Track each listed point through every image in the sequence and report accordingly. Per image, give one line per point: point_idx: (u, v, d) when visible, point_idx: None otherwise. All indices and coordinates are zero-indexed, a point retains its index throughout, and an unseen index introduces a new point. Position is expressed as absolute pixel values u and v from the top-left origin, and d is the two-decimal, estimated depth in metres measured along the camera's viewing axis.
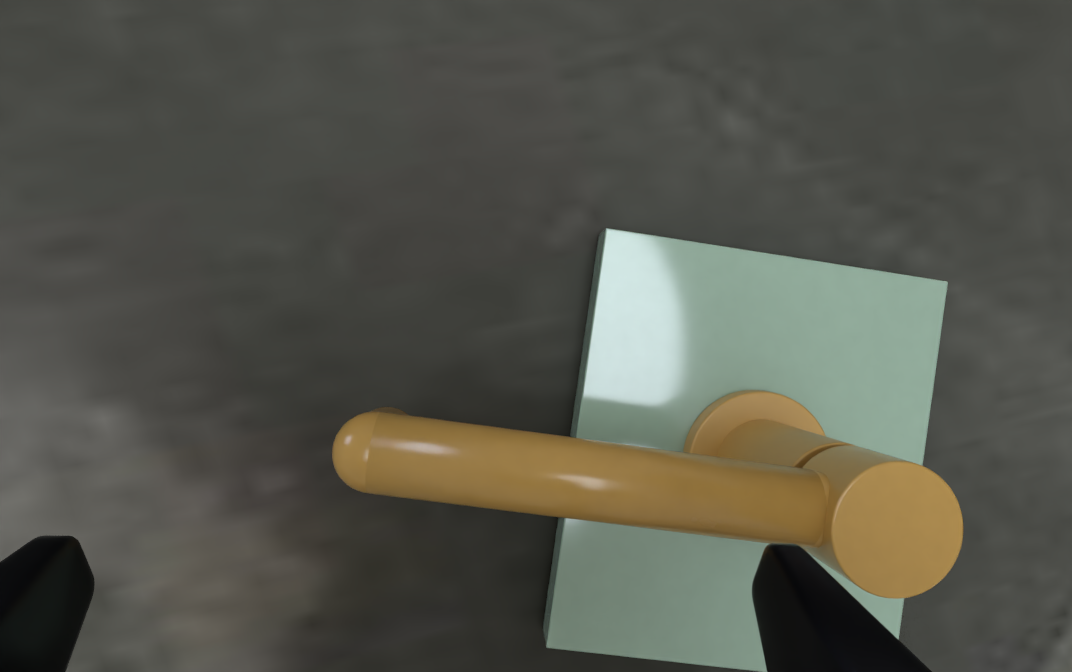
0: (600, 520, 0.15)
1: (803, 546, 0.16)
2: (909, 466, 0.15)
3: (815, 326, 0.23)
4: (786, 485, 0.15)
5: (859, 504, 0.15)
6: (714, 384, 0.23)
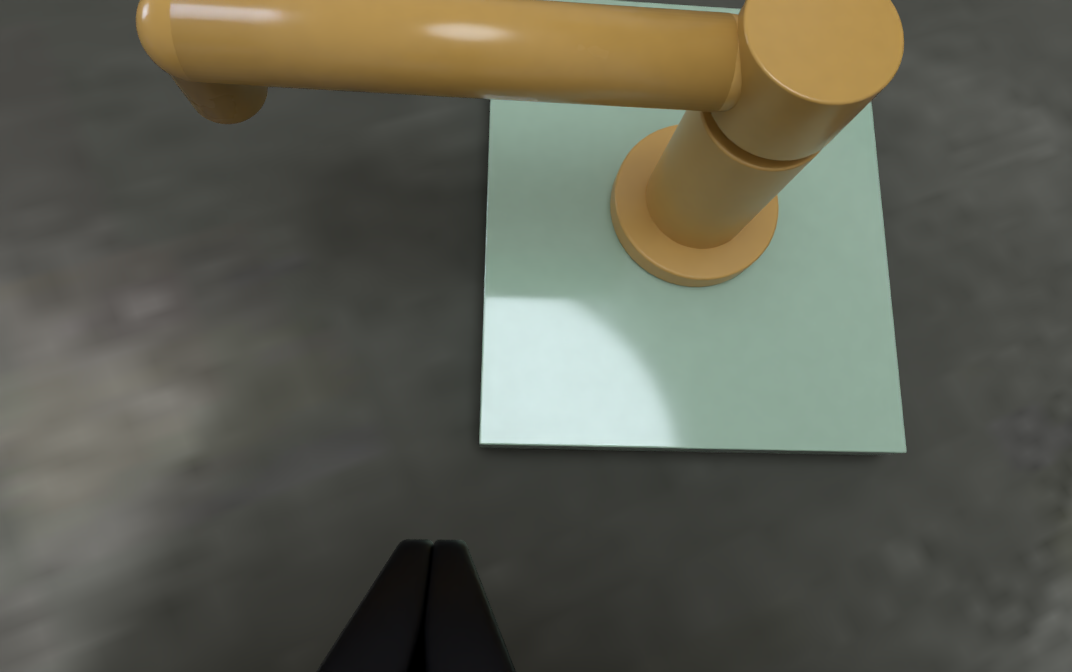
0: (470, 69, 0.13)
1: (722, 87, 0.13)
2: None
3: None
4: (686, 13, 0.13)
5: (772, 3, 0.12)
6: (634, 133, 0.21)
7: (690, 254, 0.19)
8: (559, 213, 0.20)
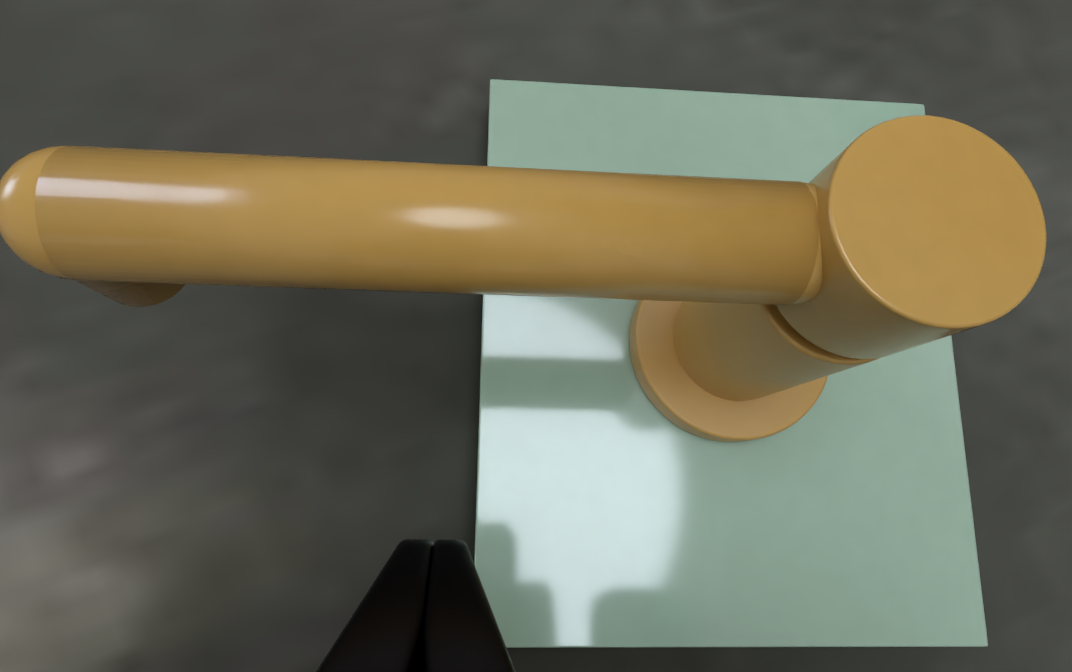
0: (454, 271, 0.09)
1: (794, 287, 0.10)
2: (931, 119, 0.09)
3: (772, 169, 0.18)
4: (747, 186, 0.10)
5: (868, 182, 0.09)
6: None
7: (727, 408, 0.16)
8: (568, 352, 0.17)
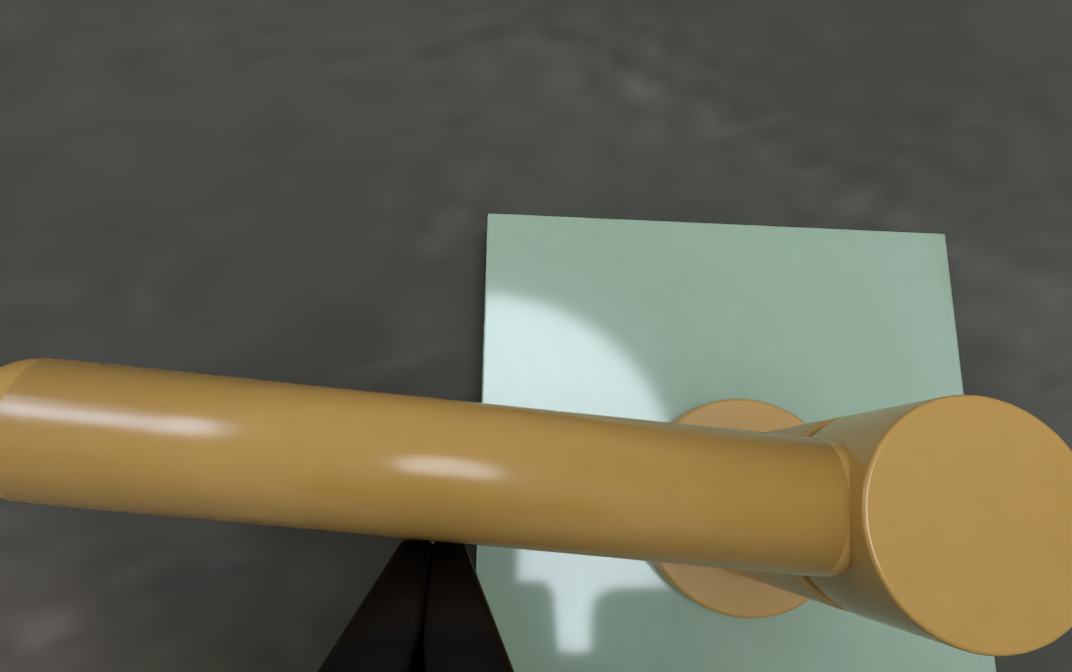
0: (442, 533, 0.08)
1: (817, 570, 0.09)
2: (984, 402, 0.08)
3: (785, 308, 0.17)
4: (772, 454, 0.09)
5: (908, 475, 0.08)
6: (664, 401, 0.17)
7: (739, 584, 0.15)
8: None
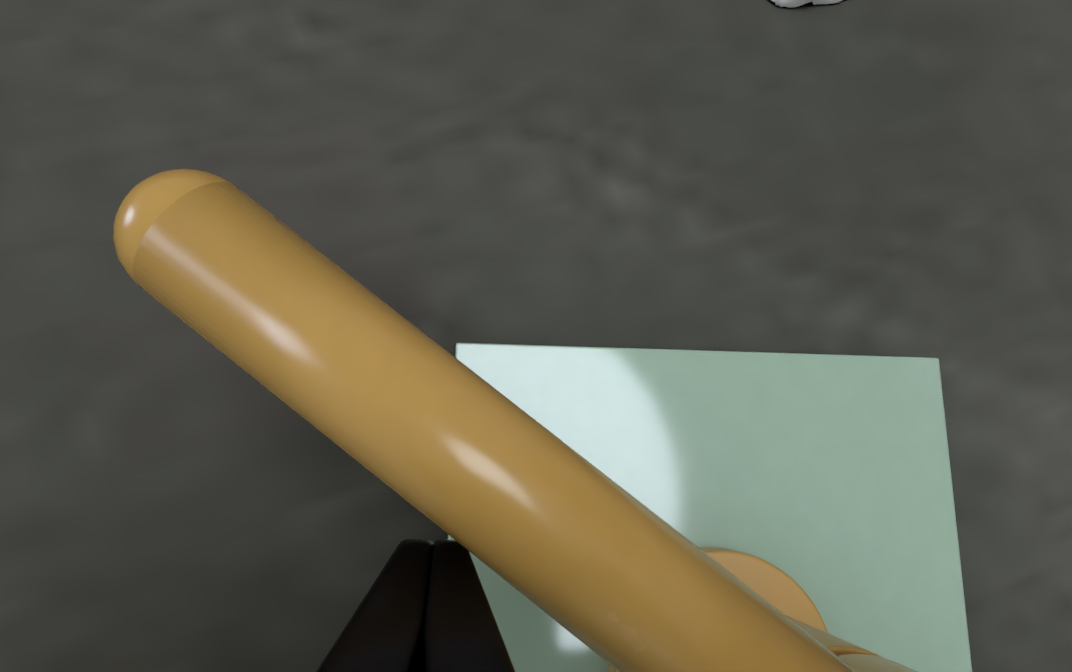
0: (458, 531, 0.08)
1: None
2: None
3: (770, 443, 0.16)
4: (797, 653, 0.08)
5: None
6: None
7: None
8: None
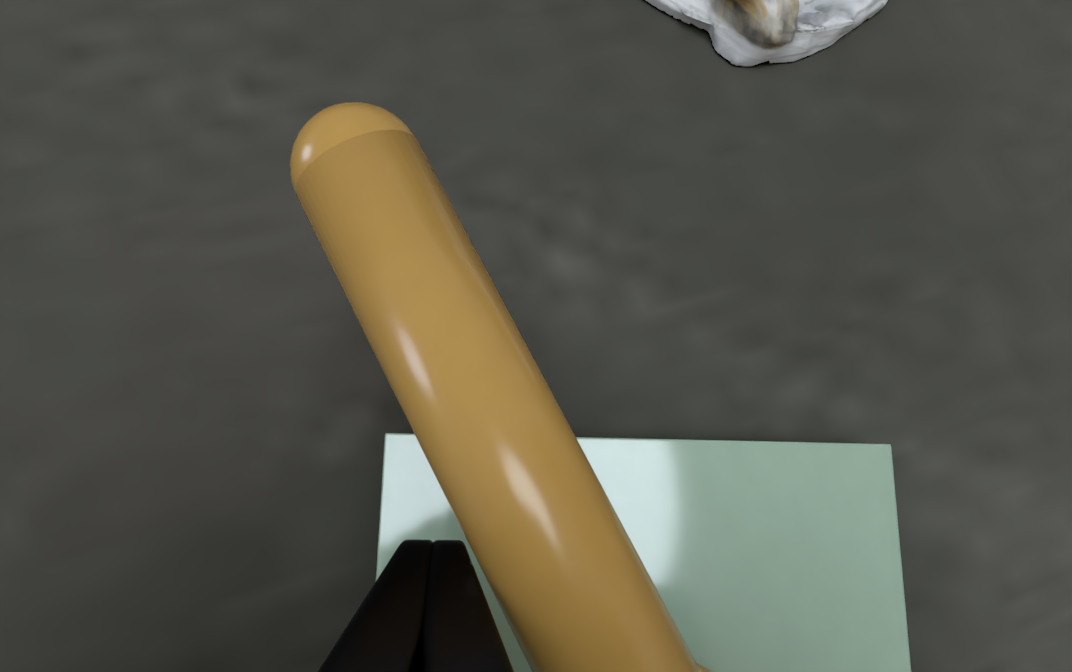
0: (480, 547, 0.08)
1: None
2: None
3: (712, 537, 0.16)
4: None
5: None
6: None
7: None
8: None
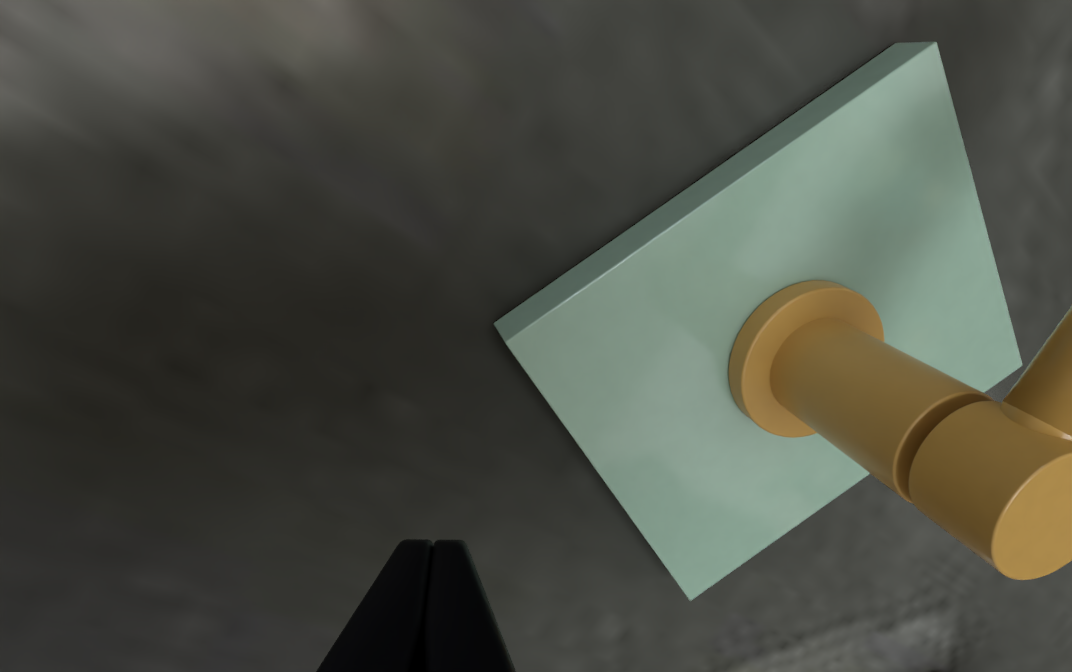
0: None
1: (1050, 415, 0.14)
2: None
3: (939, 303, 0.22)
4: None
5: None
6: (846, 269, 0.20)
7: (765, 392, 0.20)
8: (742, 260, 0.19)
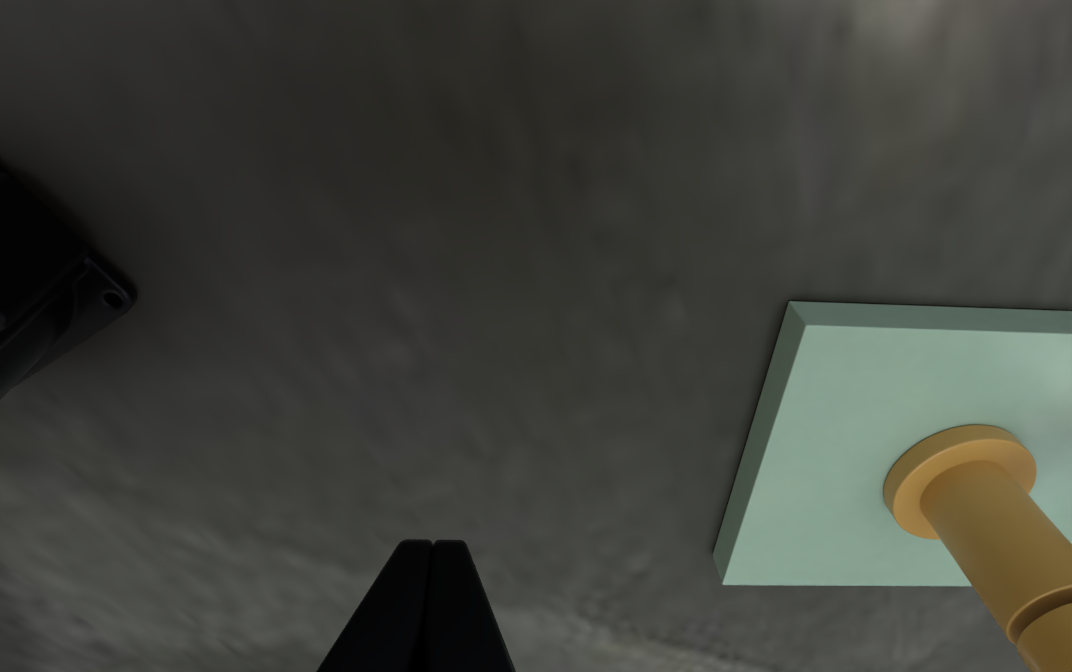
0: None
1: None
2: None
3: (1059, 508, 0.26)
4: None
5: None
6: (1036, 442, 0.24)
7: (920, 486, 0.23)
8: (989, 387, 0.22)
